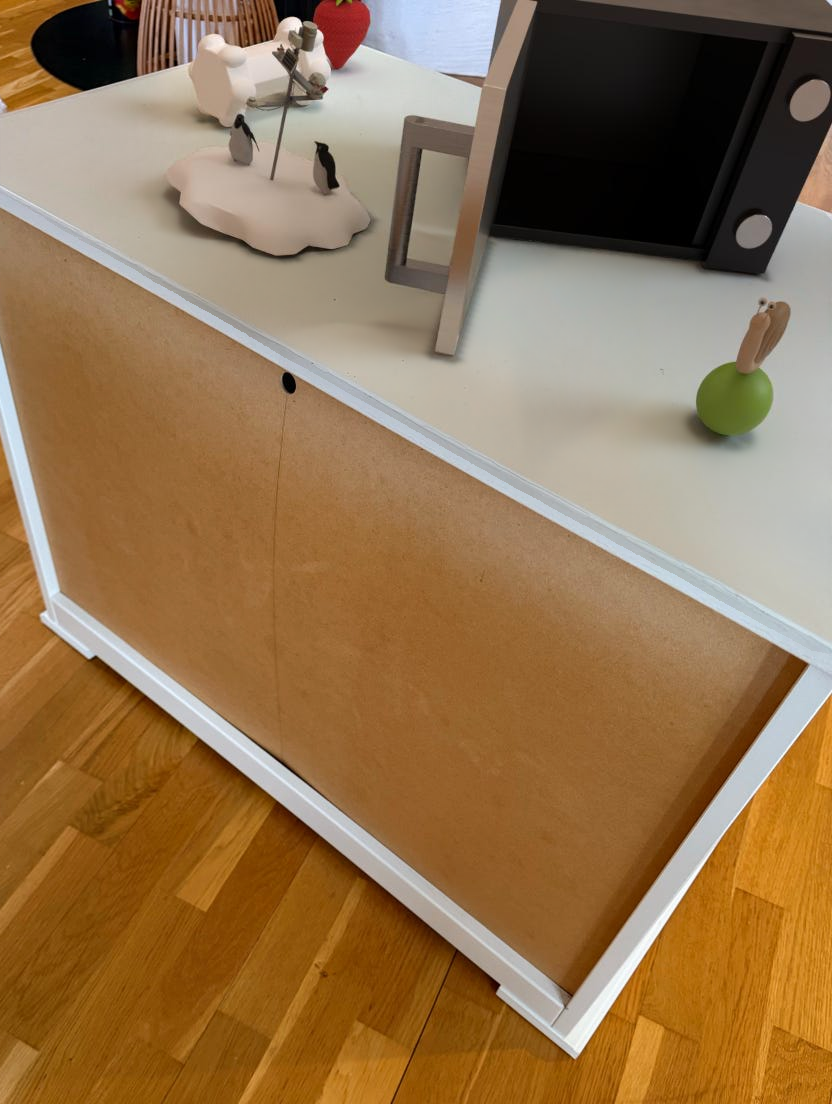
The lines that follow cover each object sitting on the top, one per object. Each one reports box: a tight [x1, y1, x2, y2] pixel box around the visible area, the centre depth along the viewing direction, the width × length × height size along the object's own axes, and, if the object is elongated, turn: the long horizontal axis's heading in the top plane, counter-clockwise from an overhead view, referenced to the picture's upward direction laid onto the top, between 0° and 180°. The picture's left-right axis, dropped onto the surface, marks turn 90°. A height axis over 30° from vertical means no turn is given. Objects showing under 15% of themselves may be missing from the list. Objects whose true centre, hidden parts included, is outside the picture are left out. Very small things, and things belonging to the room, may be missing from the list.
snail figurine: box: [695, 297, 792, 436], centre depth 67 cm, size 5×6×12 cm
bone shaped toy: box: [187, 16, 332, 128], centre depth 102 cm, size 15×9×8 cm, turn 137°
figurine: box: [163, 20, 371, 256], centre depth 83 cm, size 20×18×16 cm
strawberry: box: [312, 0, 371, 70], centre depth 113 cm, size 6×8×10 cm
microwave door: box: [384, 0, 537, 356], centre depth 75 cm, size 7×22×20 cm, turn 167°
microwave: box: [487, 0, 832, 275], centre depth 89 cm, size 22×28×20 cm
